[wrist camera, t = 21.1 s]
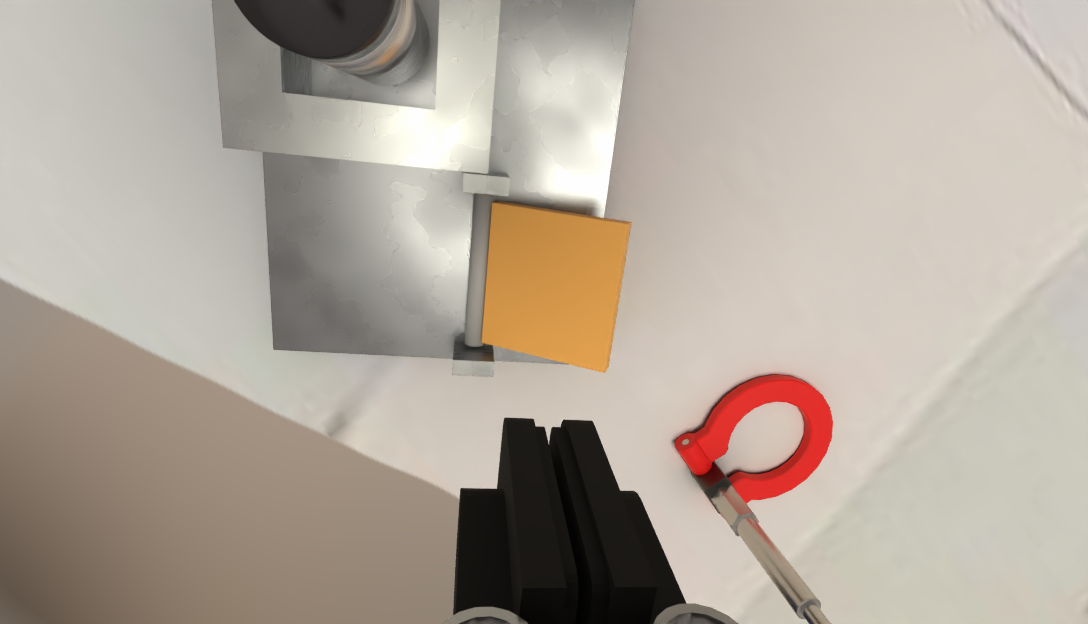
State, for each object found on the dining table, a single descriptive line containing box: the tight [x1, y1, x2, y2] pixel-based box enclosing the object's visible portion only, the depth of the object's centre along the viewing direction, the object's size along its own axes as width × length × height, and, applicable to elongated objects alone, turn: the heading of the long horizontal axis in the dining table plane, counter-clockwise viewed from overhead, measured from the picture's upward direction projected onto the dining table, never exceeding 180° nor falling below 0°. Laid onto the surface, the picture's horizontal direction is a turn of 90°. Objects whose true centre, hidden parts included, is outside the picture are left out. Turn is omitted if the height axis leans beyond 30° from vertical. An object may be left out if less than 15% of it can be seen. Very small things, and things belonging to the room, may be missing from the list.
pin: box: [234, 0, 429, 85], centre depth 18 cm, size 4×4×11 cm
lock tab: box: [464, 193, 631, 373], centre depth 26 cm, size 8×1×8 cm
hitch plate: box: [212, 0, 634, 377], centre depth 24 cm, size 22×16×5 cm
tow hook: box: [675, 375, 833, 624], centre depth 28 cm, size 8×13×9 cm
